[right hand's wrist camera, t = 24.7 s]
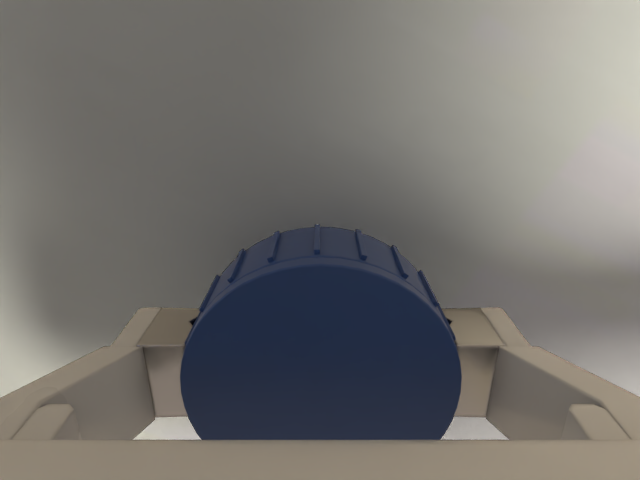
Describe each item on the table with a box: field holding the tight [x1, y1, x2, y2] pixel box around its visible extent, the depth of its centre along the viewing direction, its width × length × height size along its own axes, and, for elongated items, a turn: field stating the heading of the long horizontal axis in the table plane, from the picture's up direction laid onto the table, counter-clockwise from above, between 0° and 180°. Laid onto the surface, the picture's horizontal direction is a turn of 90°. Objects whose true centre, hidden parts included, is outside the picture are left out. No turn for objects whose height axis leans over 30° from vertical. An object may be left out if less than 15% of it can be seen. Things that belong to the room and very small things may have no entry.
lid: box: [180, 224, 462, 440], centre depth 9 cm, size 6×6×2 cm
